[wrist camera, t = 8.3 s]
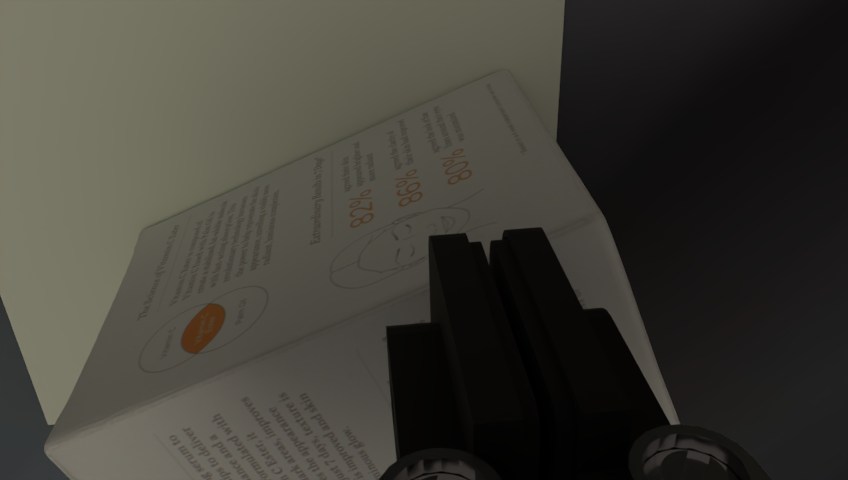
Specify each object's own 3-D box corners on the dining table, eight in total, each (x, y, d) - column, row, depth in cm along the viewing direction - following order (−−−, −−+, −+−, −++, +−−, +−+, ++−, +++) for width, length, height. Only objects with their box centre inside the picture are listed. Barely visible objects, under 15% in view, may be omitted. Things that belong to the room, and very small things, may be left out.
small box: (576, 236, 21) (245, 374, 23) (508, 58, 19) (136, 227, 20) (689, 446, 14) (205, 626, 16) (608, 213, 12) (28, 455, 13)
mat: (581, -332, 15) (585, -334, 15) (539, 373, 24) (541, 379, 24) (-215, -316, 14) (-225, -318, 14) (51, 417, 23) (48, 424, 23)
